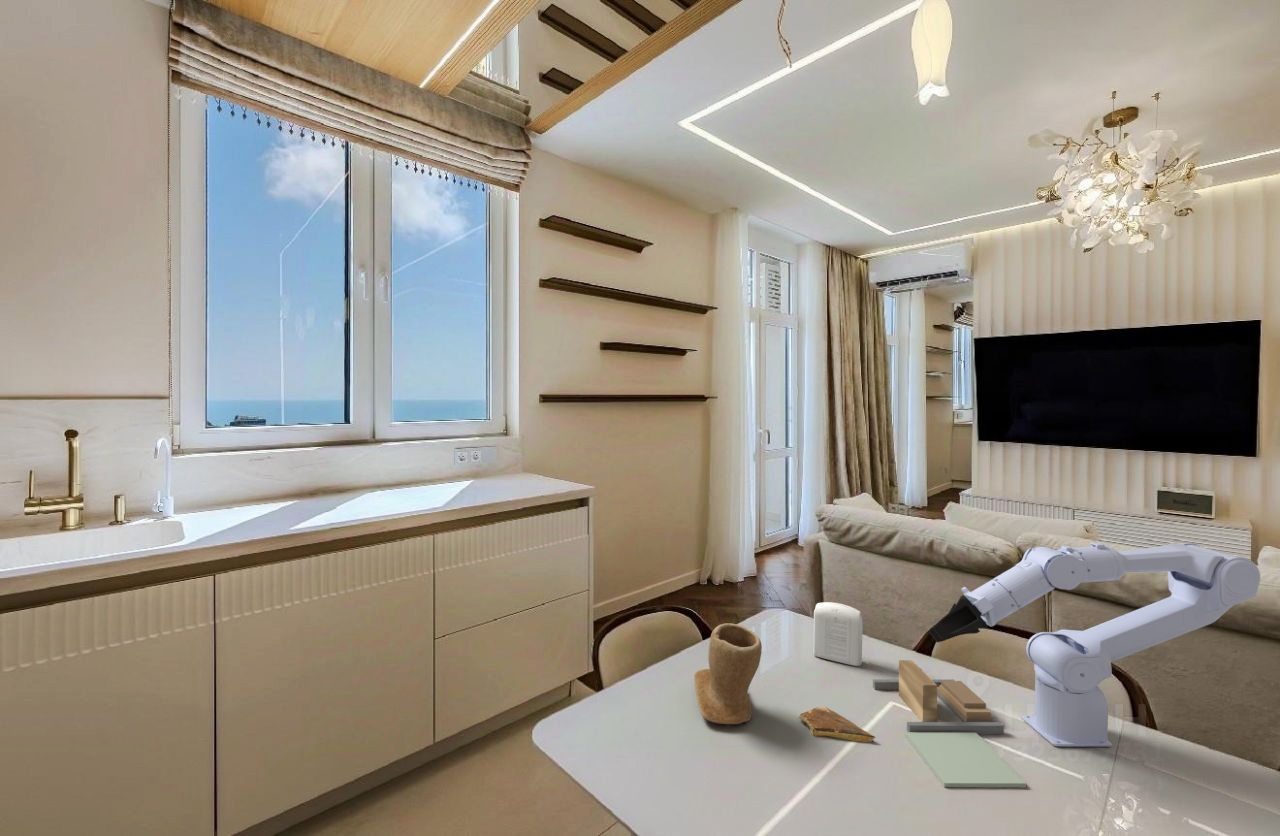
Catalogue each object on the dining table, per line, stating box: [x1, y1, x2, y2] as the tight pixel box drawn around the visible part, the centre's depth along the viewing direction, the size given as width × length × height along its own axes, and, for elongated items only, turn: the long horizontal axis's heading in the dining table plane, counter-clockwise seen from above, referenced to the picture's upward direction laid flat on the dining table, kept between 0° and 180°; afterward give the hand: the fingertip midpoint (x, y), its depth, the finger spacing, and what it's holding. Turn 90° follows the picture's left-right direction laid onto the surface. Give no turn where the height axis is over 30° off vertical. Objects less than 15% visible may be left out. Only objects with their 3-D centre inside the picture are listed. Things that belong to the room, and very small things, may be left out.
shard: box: [798, 706, 876, 743], centre depth 92 cm, size 11×8×2 cm
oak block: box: [898, 659, 938, 722], centre depth 98 cm, size 2×9×7 cm, turn 179°
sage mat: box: [904, 731, 1027, 788], centre depth 85 cm, size 12×12×1 cm
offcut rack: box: [872, 678, 1005, 735], centre depth 98 cm, size 16×15×3 cm
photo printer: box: [812, 601, 863, 667], centre depth 117 cm, size 10×4×12 cm, turn 59°
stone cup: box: [693, 622, 763, 725], centre depth 100 cm, size 15×12×15 cm
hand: (935, 635), depth 92 cm, fingers open, 7 cm apart
